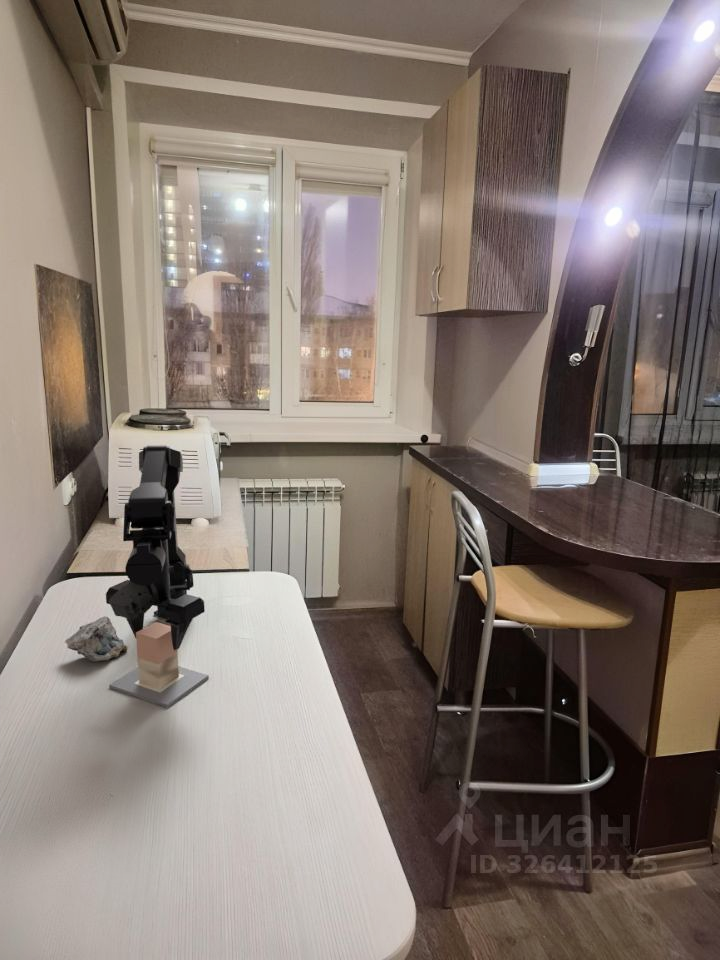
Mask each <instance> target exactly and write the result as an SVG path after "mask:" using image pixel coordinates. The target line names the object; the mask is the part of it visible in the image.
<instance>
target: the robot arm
mask: <svg viewBox="0 0 720 960" xmlns="http://www.w3.org/2000/svg"><path fill="white" fill-rule="evenodd" d="M182 455H183V454H182V453H181V451H178V450H176V449H173V448H171V447H170V446H167V445H158V444H157V445H147V446H143V447H142V451H139V452H138V470H139V471H140V473H141V476H140V480H139V486H137V487H136V488H134V489H133V490H131V491H130V493H129V494H130V495H129V497H128V502H125V503H124V512H123V534H122V535H123V536H122V537H123V539H122V540H123V542H132V549H131V552H130V554H129V557H128V559H127V561H126V565H125V574H126V576H127V578H128V579H126V580H124V581H120V582H118V583H117V584H115V585H112V586H110V587H109V588H108V589H107V591H106V592H105V601H106V604H107V605H110V607H111V609H112V611H113V614H114V615H115V616H116V617H121V618H125V619H126V621H127V623H128V625H129V627H130V630H131V631H132V634H133V635H134V638H135V639H136V632H138V631H140V630H142V629H144V621H145V614H146V613H147V612H148V611H149V610H150V609H151V608H152V606H154V607H157V610H154V611H153V615H154V616H158V617H162V618H165V619H166V620H164V622H165V623H166V625H169V626H171V635H172V644H173V649H174V650H177V649H178V650H179V649H180V647H181V644H182V643H183V641H184V638H185V635H186V633H187V630H189V629H188V628H189V626H190V625H191V623H192V621H193V620H194V619H195V618H197V617H199V616H200V615H202V614H203V613H205V609H206V608H205V601H204V599H203V598H201V597H199V596H195V595H191V594H188V592H187V591H190V590H191V588H194V585H195V584H194V573H193V570H192V569H191V567H190V564H187V556H186V554H185V552H183V551H182V549H181V548H180V547H179V545H178V544H179V543H178V530H177V529H178V528H177V527H178V526H177V517H176V516H177V514H176V503H175V502H176V501H175V500H176V499H175V490H176V488H177V486H178V485H179V483H180V479H181V473H182V472H183V470H184V468H183V467H184V464H183V463H184V462H183V456H182ZM183 473H184V472H183Z"/></svg>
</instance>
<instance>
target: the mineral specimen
mask: <svg viewBox="0 0 720 960" xmlns="http://www.w3.org/2000/svg"><path fill="white" fill-rule="evenodd" d="M64 643H65V644H66V645H67V646H66V647H67V649H70V650H72V651H75V652H77V654H78V655H82V656H83V657H85V658H86V659H88V660H90V661H92V662H99V661H109V660H110V659H112V658H117V657H119V656H120V654H121V652H122V651H123V652H127V651H128V649H129V648H128V645H127V644H125V642H124V639H121V638H119V637H118V635H117V630H116V628H115V627H114V625H113V622H111V619H110V618H109V616H106V615H104V616H102V617H99V618H98V619H96V620H95V621H93V622H91V621H90V623H86V624H83V625H81V626H80V627H79V630H77V631H76V632H75V633H73V635H70V636H69V637H68V638H67V639H65V641H64Z"/></svg>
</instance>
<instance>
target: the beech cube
mask: <svg viewBox="0 0 720 960" xmlns="http://www.w3.org/2000/svg"><path fill="white" fill-rule="evenodd" d="M178 666H179V653H178V652H177V653H176V654H174V655H172V656H171V657H169V658H168V659H166V660H164V661H163V662H161V663H159V664H155V663H152V662H149V661H146V660H143V659H140V658H138V657H137V667H138V671H139V682H140V683H143V684H146V685H149V686H152V687H155V688H157V689H161V688H162V687H164V686H165V685H167V684H168V683H170V682H171V681H173V680H174V679H176V678H177V677H179V669H178Z"/></svg>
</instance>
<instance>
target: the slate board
mask: <svg viewBox="0 0 720 960" xmlns="http://www.w3.org/2000/svg"><path fill="white" fill-rule="evenodd" d="M178 669H179V677H177V678H176V679H174V680H173V681H171V682H170V683H168V684H167V685H165V686H164V687H162V688H161V689H157V688H155V687H152V686H149V685H146V684H143V683H140V682H139V671H138V666H137V667H135V668H134V669H132V670H131V671H129V672H128V673H126V674H124V675H122V676H121V677H119V678H118V679H116V680H115V681H113V682H111V683H109V684H108V687H109V689H112V690H115V691H118V692H120V693H124V694H127V695H130V696H133V697H135V698H139V699H141V700H144V701H147V702H149V703H152V704H155V705H158V706H161V707H164V708H166V709H168V708H170V707H171V706H172V705H174V704H175V703H176V702H178V701H179V700H181V698H184V697H185V696H186V695H187V694H189V693H190V692H192V691H193V690H194V689H195V688H197V687H198V686H200V685H201V684H202V683H204V682H205V681H207V680H208V679H209V674H205V673H202V672H199V671H195V670H192V669H188V668H185V667H182V666H180V665H178Z"/></svg>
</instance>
